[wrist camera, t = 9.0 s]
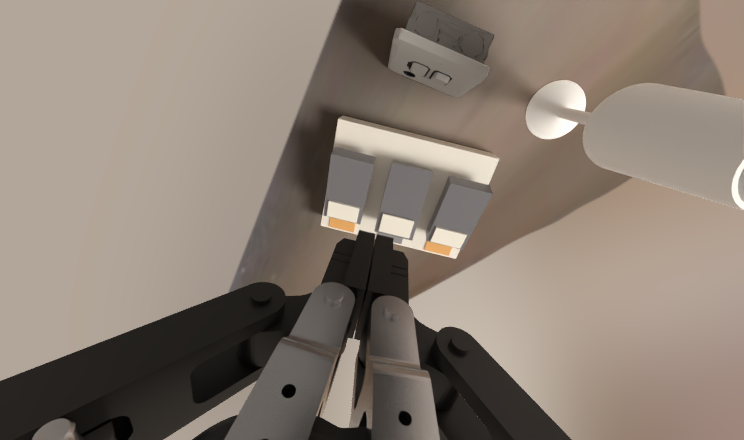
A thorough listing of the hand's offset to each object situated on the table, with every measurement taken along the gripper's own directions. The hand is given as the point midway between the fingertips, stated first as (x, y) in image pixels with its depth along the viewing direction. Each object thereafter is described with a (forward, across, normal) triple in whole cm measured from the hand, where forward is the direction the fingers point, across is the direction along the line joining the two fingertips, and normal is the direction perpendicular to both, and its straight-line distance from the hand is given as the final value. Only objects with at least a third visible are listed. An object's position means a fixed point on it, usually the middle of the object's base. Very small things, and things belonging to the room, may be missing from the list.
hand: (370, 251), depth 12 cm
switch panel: (+28, -3, +8) cm, 29 cm away
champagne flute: (+29, -18, -6) cm, 35 cm away
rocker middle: (+23, -3, +8) cm, 25 cm away
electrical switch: (+29, -2, -8) cm, 30 cm away
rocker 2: (+23, -10, +8) cm, 27 cm away
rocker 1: (+23, +4, +7) cm, 25 cm away
